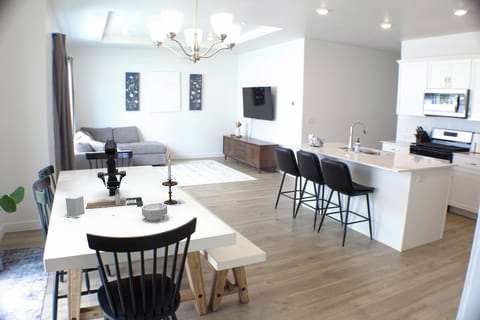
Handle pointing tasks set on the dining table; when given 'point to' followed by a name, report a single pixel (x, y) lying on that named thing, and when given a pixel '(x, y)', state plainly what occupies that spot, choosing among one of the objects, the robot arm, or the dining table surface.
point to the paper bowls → (154, 211)
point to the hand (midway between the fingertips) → (112, 186)
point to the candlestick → (169, 185)
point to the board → (104, 204)
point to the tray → (138, 201)
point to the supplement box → (75, 206)
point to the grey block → (117, 197)
